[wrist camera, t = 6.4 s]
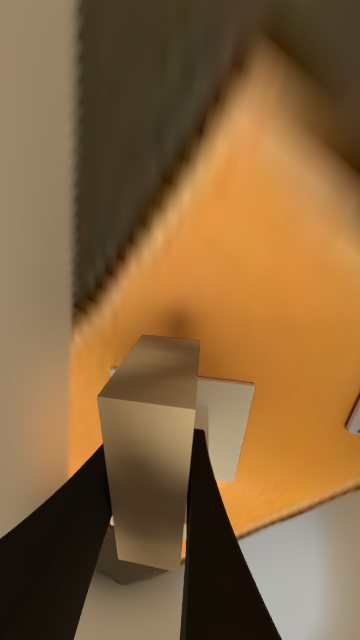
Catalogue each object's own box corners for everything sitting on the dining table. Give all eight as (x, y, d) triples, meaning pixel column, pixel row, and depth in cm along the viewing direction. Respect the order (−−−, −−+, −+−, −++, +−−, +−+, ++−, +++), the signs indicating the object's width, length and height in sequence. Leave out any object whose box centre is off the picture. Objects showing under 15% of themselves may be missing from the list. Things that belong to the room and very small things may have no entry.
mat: (254, 383, 18) (255, 386, 18) (232, 479, 23) (233, 482, 23) (111, 366, 20) (109, 369, 19) (120, 460, 25) (119, 463, 24)
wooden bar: (200, 340, 10) (195, 409, 6) (187, 470, 13) (179, 572, 9) (142, 334, 10) (97, 396, 6) (145, 463, 14) (118, 559, 9)
